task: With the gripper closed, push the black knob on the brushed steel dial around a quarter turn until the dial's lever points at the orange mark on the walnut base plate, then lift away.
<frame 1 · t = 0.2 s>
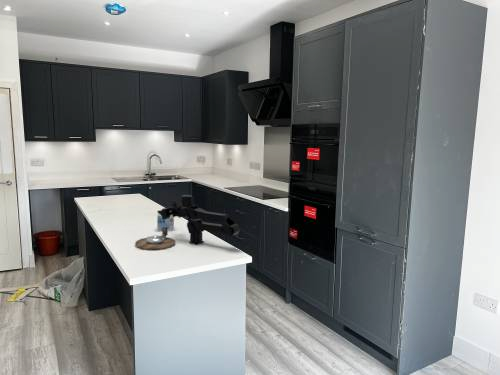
hand: (162, 210, 231), 16 cm above the countertop, tool horizontal, fingers open, 9 cm apart
dial base plate: (155, 244, 216), on the countertop
dial: (158, 235, 217), point 5 cm above the countertop, hinge at 0.0°
light bulb box: (165, 230, 249), on the countertop
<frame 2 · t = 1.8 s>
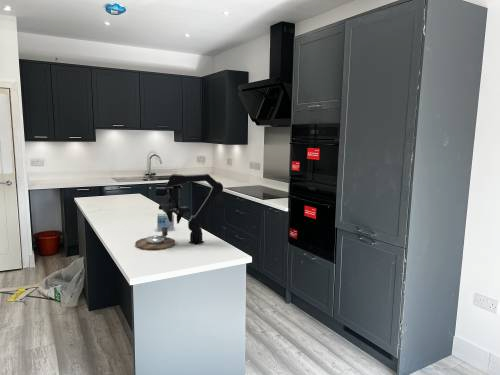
hand: (174, 222, 218), 12 cm above the countertop, tool pointing down, fingers open, 5 cm apart
nothing on the countertop moved.
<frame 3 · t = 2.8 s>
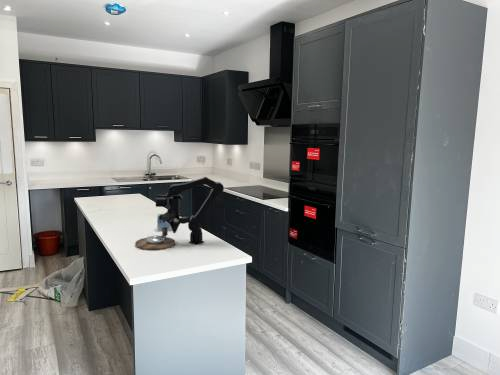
hand: (174, 233, 219), 6 cm above the countertop, tool pointing down, fingers closed
nothing on the countertop moved.
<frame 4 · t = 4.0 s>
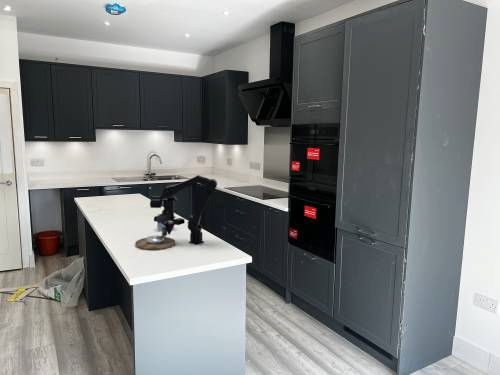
hand: (169, 234, 221), 5 cm above the countertop, tool pointing down, fingers closed
dial: (158, 235, 217), point 5 cm above the countertop, hinge at 1.7°, touching gripper
everything else where it was.
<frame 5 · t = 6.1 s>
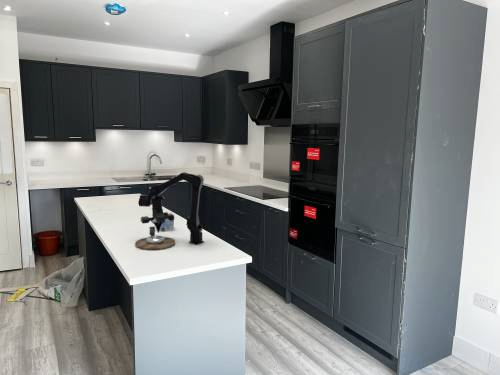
hand: (158, 232, 224), 5 cm above the countertop, tool pointing down, fingers closed
dial: (154, 234, 217), point 5 cm above the countertop, hinge at 55.9°, touching gripper
everything else where it was.
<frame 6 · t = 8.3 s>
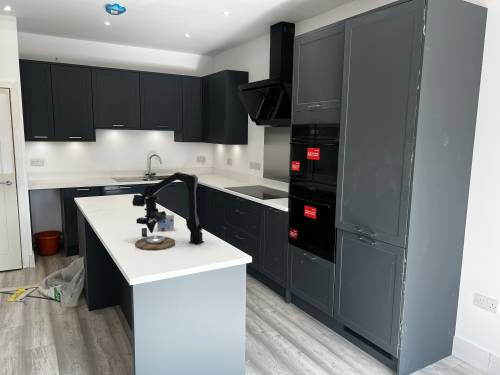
hand: (151, 232, 224), 4 cm above the countertop, tool pointing down, fingers closed
dial: (152, 235, 216), point 5 cm above the countertop, hinge at 93.6°
everything else where it was.
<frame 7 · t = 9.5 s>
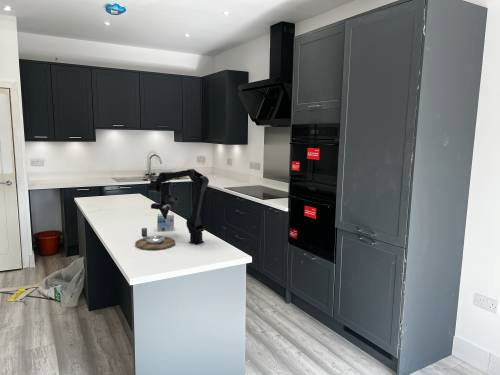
hand: (165, 218, 229), 12 cm above the countertop, tool pointing down, fingers closed
nothing on the countertop moved.
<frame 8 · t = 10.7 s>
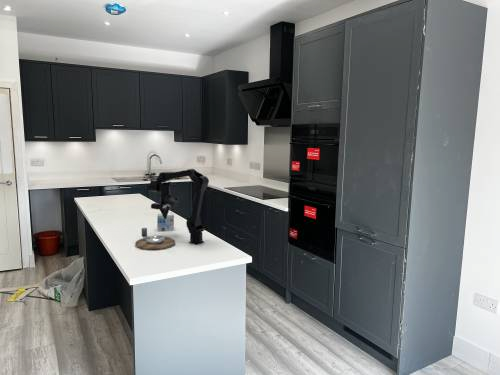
hand: (165, 218, 229), 12 cm above the countertop, tool pointing down, fingers closed
nothing on the countertop moved.
at the end: dial at +94° (first picture: +0°); light bulb box moved 0.3 cm from its start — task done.
